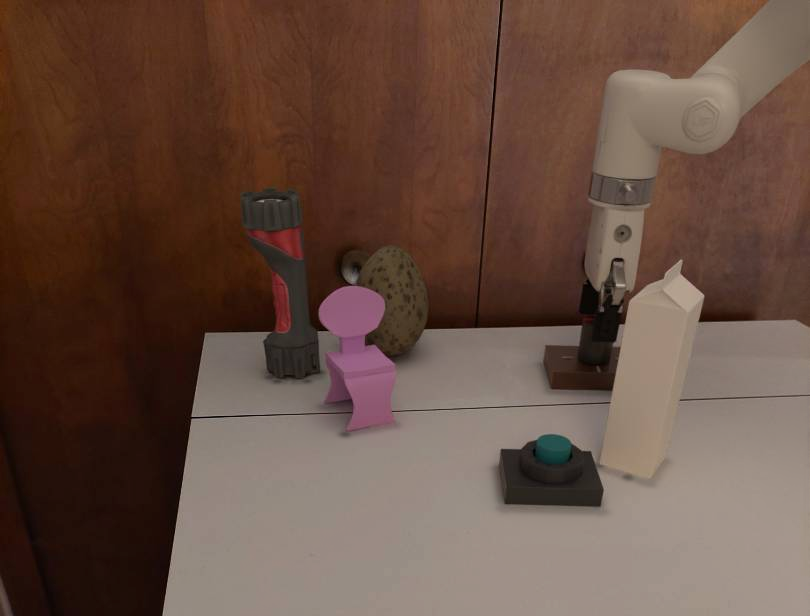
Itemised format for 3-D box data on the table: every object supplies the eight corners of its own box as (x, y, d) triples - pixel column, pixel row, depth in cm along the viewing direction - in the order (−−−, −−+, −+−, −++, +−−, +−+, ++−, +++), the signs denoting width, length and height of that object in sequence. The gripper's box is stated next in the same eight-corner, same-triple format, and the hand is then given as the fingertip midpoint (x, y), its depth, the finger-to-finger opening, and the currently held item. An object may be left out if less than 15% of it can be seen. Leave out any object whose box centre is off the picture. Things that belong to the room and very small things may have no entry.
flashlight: (245, 369, 110) (226, 191, 96) (291, 355, 114) (279, 182, 101) (278, 388, 105) (263, 203, 92) (325, 372, 109) (317, 193, 96)
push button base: (587, 468, 90) (593, 436, 88) (600, 507, 83) (606, 474, 81) (498, 465, 90) (502, 434, 88) (504, 504, 83) (508, 471, 81)
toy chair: (340, 434, 95) (336, 311, 86) (316, 403, 102) (310, 286, 93) (404, 422, 98) (406, 301, 89) (376, 393, 104) (376, 278, 96)
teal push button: (566, 448, 86) (568, 434, 85) (571, 465, 83) (573, 451, 82) (533, 447, 86) (535, 433, 85) (536, 464, 83) (538, 450, 82)
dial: (606, 352, 110) (613, 313, 107) (612, 365, 107) (620, 325, 104) (575, 351, 110) (580, 312, 107) (579, 364, 107) (586, 324, 104)
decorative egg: (441, 353, 115) (447, 247, 107) (389, 375, 109) (390, 263, 100) (388, 333, 121) (389, 230, 113) (336, 352, 115) (332, 245, 106)
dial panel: (627, 363, 114) (631, 345, 112) (641, 391, 106) (645, 372, 105) (543, 361, 114) (545, 343, 112) (551, 388, 106) (553, 370, 105)
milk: (666, 457, 92) (714, 263, 79) (649, 480, 88) (698, 279, 75) (615, 442, 95) (654, 252, 82) (597, 464, 91) (635, 267, 78)
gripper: (669, 209, 89) (638, 354, 99) (636, 175, 103) (612, 305, 113) (602, 206, 89) (578, 352, 99) (578, 172, 103) (559, 303, 113)
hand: (596, 327), depth 106 cm, fingers open, 9 cm apart
